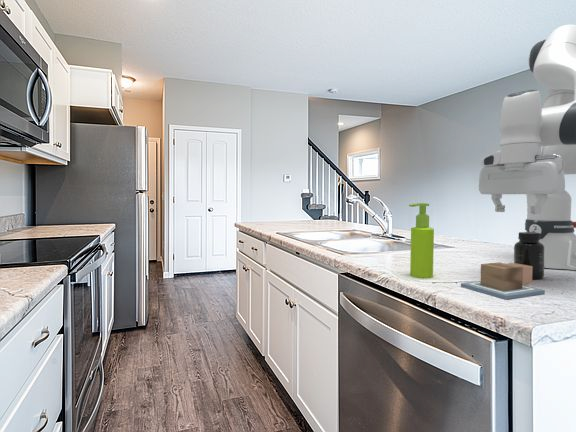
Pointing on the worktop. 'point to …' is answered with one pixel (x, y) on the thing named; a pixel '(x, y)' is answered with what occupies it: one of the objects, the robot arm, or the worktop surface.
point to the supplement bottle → (530, 253)
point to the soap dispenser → (422, 245)
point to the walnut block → (501, 276)
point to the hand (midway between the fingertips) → (517, 212)
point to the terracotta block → (525, 273)
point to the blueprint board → (506, 295)
